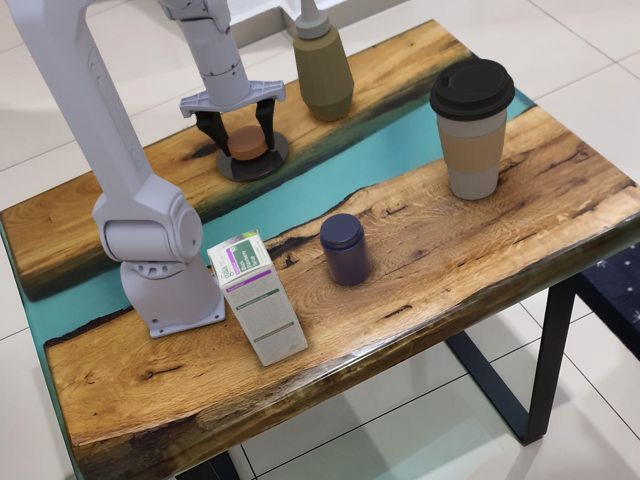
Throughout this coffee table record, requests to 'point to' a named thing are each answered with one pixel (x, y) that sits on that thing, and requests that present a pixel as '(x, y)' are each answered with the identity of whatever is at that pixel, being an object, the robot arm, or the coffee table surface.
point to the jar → (345, 249)
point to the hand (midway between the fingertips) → (250, 149)
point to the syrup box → (257, 297)
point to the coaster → (255, 163)
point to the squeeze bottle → (322, 64)
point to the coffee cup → (472, 123)
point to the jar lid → (247, 143)
